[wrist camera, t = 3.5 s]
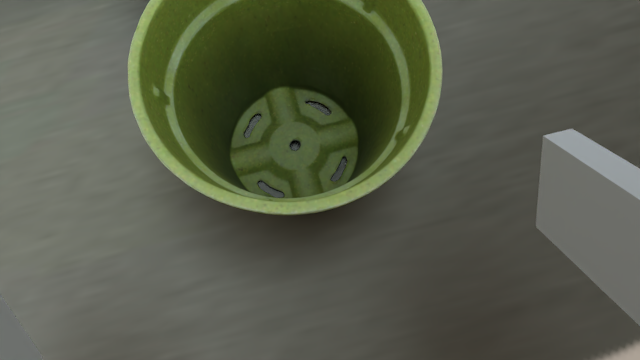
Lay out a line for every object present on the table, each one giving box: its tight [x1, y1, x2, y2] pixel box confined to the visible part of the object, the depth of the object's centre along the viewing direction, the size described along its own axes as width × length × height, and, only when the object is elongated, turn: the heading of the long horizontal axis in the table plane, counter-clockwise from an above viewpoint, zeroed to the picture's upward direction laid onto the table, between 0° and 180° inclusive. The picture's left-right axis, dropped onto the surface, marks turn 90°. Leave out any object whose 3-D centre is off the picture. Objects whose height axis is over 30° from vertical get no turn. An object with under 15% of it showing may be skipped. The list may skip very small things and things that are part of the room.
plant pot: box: [128, 0, 442, 215], centre depth 19 cm, size 9×9×9 cm
